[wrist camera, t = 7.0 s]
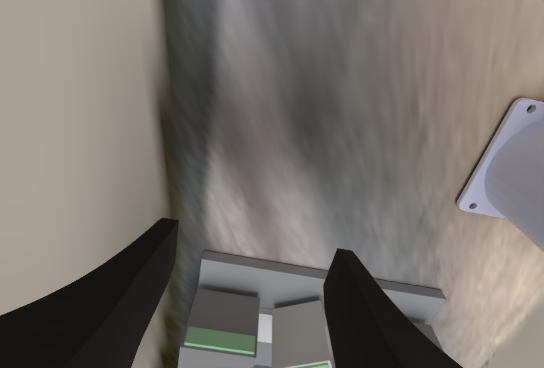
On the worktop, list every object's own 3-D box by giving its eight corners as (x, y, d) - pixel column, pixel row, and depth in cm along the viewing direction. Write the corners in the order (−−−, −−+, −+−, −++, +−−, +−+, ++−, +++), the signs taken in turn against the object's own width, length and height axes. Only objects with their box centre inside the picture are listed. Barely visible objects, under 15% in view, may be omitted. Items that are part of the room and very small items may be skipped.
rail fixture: (441, 290, 27) (485, 366, 21) (387, 373, 33) (411, 451, 27) (204, 250, 25) (183, 321, 20) (191, 345, 31) (171, 422, 25)
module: (320, 300, 26) (330, 362, 21) (336, 353, 29) (347, 417, 24) (272, 309, 26) (271, 371, 22) (293, 360, 29) (296, 424, 25)
